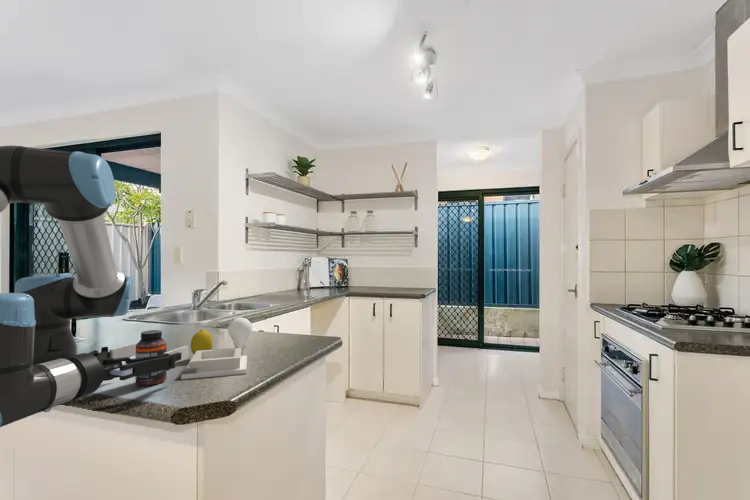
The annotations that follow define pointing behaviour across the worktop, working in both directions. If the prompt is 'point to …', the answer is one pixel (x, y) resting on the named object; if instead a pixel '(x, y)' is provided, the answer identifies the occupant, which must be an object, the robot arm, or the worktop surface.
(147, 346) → the supplement bottle
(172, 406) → the worktop surface
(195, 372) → the socket
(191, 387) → the worktop surface
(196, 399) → the worktop surface
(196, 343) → the lemon
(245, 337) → the lightbulb
